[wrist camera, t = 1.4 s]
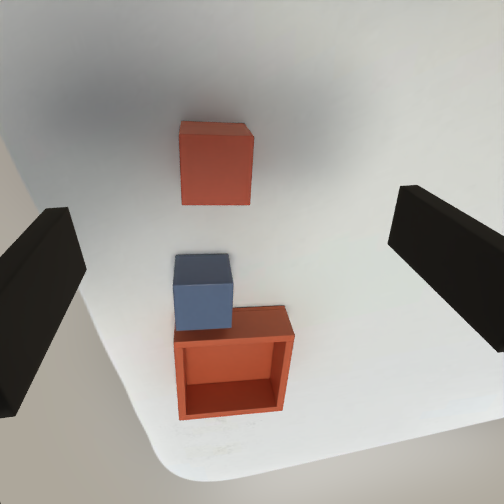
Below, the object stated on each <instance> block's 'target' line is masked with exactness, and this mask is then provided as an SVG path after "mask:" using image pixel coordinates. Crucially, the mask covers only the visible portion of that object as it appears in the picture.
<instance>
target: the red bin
mask: <svg viewBox="0 0 504 504" xmlns="http://www.w3.org/2000/svg"><path fill="white" fill-rule="evenodd" d="M294 337H295V334H294V332H293V329H292V326H291V323H290V320H289V318H288V315H287V312H286V309H285V307H284V306H268V307H246V308H232V327H231V328H221V329H203V330H185V331H176V326H175V330H174V355H175V369H176V383H177V397H178V411H179V420H190V419H200V418H211V417H221V416H231V415H242V414H252V413H263V412H273V411H282V410H283V404H284V398H285V392H286V386H287V380H288V374H289V367H290V361H291V355H292V349H293V343H294Z"/></svg>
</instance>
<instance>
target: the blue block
mask: <svg viewBox="0 0 504 504" xmlns="http://www.w3.org/2000/svg"><path fill="white" fill-rule="evenodd" d="M173 295H174V310H175V326H176V331H185V330H203V329H221V328H231V327H232V307H233V278H232V272H231V267H230V261H229V255H228V254H204V255H176V256H175V267H174V279H173Z"/></svg>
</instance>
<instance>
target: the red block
mask: <svg viewBox="0 0 504 504" xmlns="http://www.w3.org/2000/svg"><path fill="white" fill-rule="evenodd" d="M253 149H254V136H253V135H252V133H251V132H250V130H249V129H248V128H247V126H246V125H245V124H244V123H222V122H196V121H181V125H180V131H179V152H180V175H181V198H182V205H250V197H251V181H252V165H253Z"/></svg>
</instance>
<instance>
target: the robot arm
mask: <svg viewBox="0 0 504 504" xmlns="http://www.w3.org/2000/svg"><path fill="white" fill-rule="evenodd" d="M388 245H389V246H390V247H391V248H392V249H393V250H394V251H395V252H396V253H397V254H398V255H399V256H400V257H401V258H402V259H403V260H404V261H405V262H406V263H407V264H408V265H409V266H410V267H411V268H413V269H414V270H415V271H416V272H417V273H418V274H419V275H420V276H421V277H422V278H423V279H424V280H425V281H426V282H427V283H428V284H429V285H430V286H431V287H432V288H433V289H434V290H435V291H436V292H437V293H438V294H439V295H440V296H441V297H442V298H443V299H444V300H445V301H446V302H447V303H448V304H449V305H450V306H451V307H452V308H453V309H454V310H455V311H456V312H457V313H458V314H459V315H460V316H461V317H462V318H463V319H464V320H465V321H466V322H467V323H468V324H469V325H470V326H471V327H472V328H473V329H475V330H476V331H477V332H478V333H479V334H480V335H481V336H482V337H483V338H484V339H485V340H486V341H487V342H488V343H489V344H490V345H491V346H492V347H493V348H494V349H495V350H496V351H497V352H498V353H499V352H504V236H503V235H501V234H499V233H498V232H496V231H494V230H492V229H491V228H489V227H487V226H486V225H484V224H482V223H481V222H479V221H477V220H476V219H474V218H472V217H470V216H469V215H467V214H465V213H464V212H462V211H460V210H459V209H457V208H455V207H454V206H452V205H450V204H448V203H447V202H445V201H443V200H442V199H440V198H438V197H437V196H435V195H433V194H432V193H430V192H428V191H427V190H425V189H423V188H421V187H420V186H418V185H409V186H400V189H399V194H398V198H397V203H396V207H395V212H394V217H393V221H392V226H391V230H390V235H389V240H388ZM86 270H87V269H86V265H85V262H84V259H83V255H82V252H81V249H80V245H79V242H78V239H77V235H76V232H75V229H74V225H73V222H72V219H71V215H70V212H69V209H68V207H61V208H46V209H45V210H44V211H43V212H42V213H41V214H40V215H39V216H38V217H37V219H36V220H35V221H34V222H33V223H32V224H31V225H30V226H29V227H28V228H27V229H26V230H25V231H24V233H23V234H21V236H20V237H19V238H18V239H17V240H16V241H15V242H14V243H13V244H12V245H11V246H10V247H9V248H8V249H7V250H6V252H5V253H4V254H3V255H2V256H1V257H0V418H5V417H13V416H16V414H17V412H18V410H19V408H20V406H21V404H22V402H23V399H24V397H25V395H26V393H27V391H28V389H29V387H30V385H31V383H32V381H33V379H34V377H35V375H36V373H37V371H38V368H39V366H40V365H41V362H42V360H43V358H44V356H45V354H46V352H47V350H48V348H49V346H50V344H51V342H52V340H53V338H54V336H55V334H56V332H57V330H58V328H59V325H60V323H61V321H62V319H63V317H64V315H65V313H66V311H67V309H68V307H69V305H70V303H71V301H72V299H73V297H74V295H75V293H76V291H77V289H78V287H79V284H80V282H81V280H82V278H83V276H84V274H85V272H86ZM0 504H1V503H0Z"/></svg>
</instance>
